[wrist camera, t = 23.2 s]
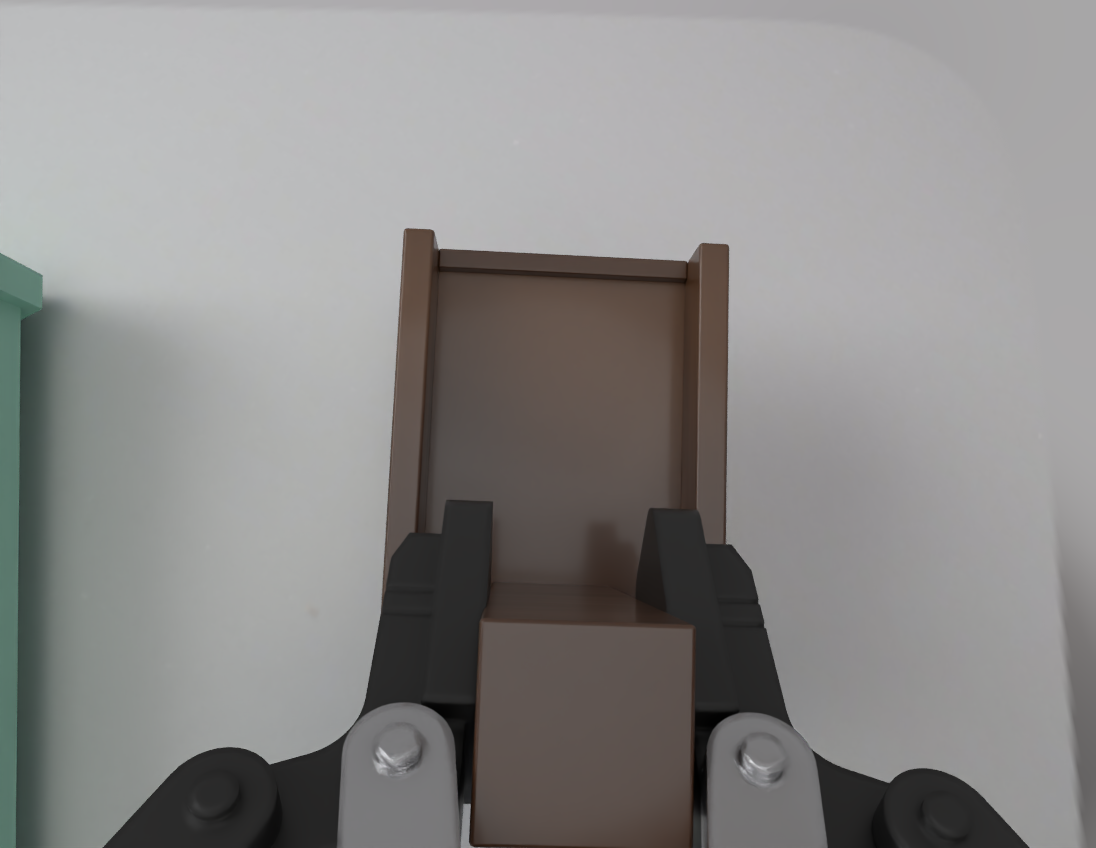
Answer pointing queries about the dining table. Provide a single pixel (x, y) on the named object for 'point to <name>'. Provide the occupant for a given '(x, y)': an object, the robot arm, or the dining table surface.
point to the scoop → (567, 517)
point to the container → (10, 519)
